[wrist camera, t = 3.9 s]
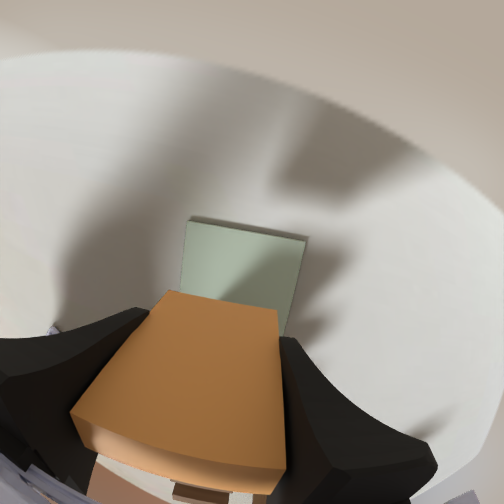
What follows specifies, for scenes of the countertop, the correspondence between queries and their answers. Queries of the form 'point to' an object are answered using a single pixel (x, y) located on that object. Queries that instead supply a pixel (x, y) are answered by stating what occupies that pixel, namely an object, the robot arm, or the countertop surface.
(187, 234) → the mat
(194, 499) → the domino
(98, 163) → the countertop surface
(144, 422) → the orange domino
